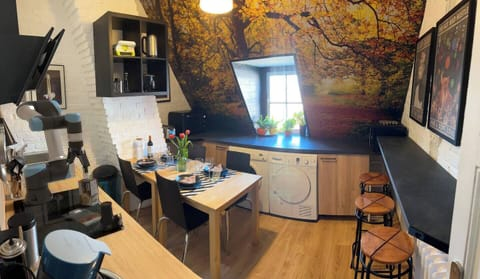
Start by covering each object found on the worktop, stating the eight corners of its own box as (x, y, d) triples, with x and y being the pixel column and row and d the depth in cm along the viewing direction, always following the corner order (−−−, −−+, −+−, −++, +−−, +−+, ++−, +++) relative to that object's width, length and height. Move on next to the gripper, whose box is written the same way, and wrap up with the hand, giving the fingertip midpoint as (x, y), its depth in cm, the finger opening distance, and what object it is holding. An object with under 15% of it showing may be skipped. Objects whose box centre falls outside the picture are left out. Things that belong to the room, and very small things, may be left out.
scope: (121, 201, 151) (101, 207, 144) (123, 227, 153) (104, 234, 146) (114, 197, 156) (94, 203, 149) (116, 222, 159) (97, 229, 151)
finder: (69, 217, 163) (68, 211, 163) (78, 213, 167) (77, 208, 167) (75, 219, 160) (75, 213, 160) (84, 216, 164) (84, 210, 164)
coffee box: (100, 203, 185) (97, 178, 182) (92, 207, 179) (90, 181, 176) (88, 202, 187) (85, 177, 184) (80, 206, 181) (77, 180, 178)
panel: (60, 217, 166) (60, 215, 166) (81, 209, 176) (81, 207, 176) (86, 226, 154) (85, 224, 154) (106, 217, 165) (106, 215, 165)
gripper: (57, 139, 172) (61, 174, 176) (81, 143, 159) (85, 181, 163) (70, 137, 178) (73, 171, 182) (94, 141, 165) (98, 178, 169)
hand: (79, 176), depth 172 cm, fingers open, 13 cm apart
